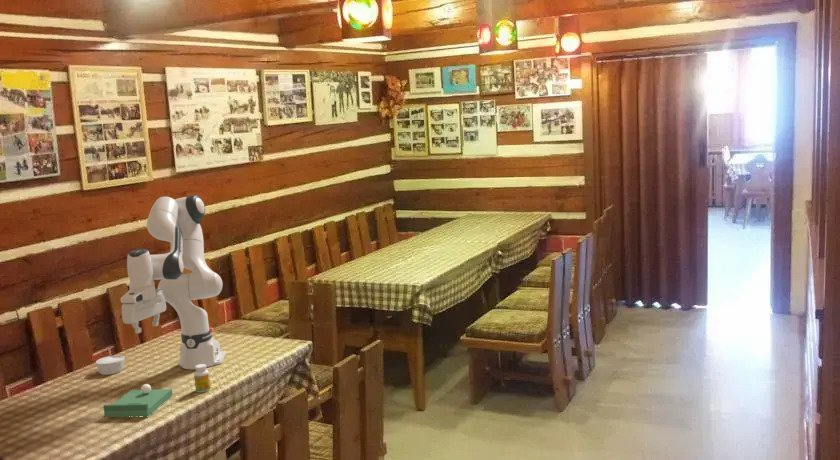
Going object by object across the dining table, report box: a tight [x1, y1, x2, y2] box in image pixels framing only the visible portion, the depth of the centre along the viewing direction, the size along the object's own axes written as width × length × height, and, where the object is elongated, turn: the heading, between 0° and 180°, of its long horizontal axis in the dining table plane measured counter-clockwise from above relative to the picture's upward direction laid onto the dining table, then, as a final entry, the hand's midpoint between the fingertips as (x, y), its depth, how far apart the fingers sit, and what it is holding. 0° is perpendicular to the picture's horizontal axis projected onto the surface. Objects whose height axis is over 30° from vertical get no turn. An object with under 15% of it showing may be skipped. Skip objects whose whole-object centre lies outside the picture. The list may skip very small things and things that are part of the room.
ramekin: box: [95, 355, 126, 376], centre depth 319 cm, size 11×11×5 cm
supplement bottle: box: [193, 364, 211, 393], centre depth 289 cm, size 5×5×10 cm
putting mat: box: [103, 388, 174, 419], centre depth 277 cm, size 20×16×4 cm
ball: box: [140, 383, 152, 394], centre depth 283 cm, size 4×4×4 cm
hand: (147, 329), depth 285 cm, fingers open, 8 cm apart
